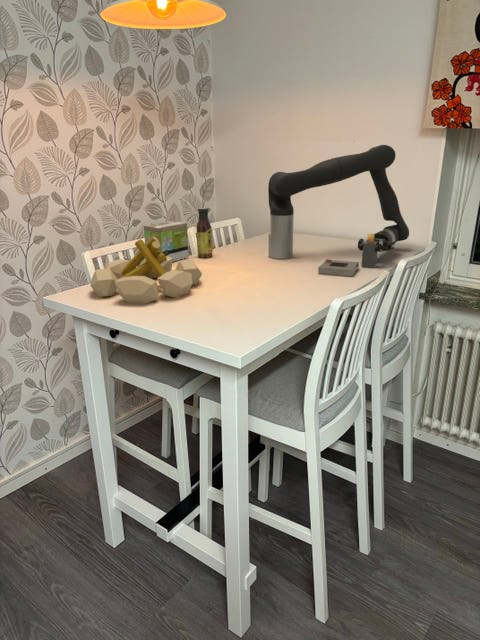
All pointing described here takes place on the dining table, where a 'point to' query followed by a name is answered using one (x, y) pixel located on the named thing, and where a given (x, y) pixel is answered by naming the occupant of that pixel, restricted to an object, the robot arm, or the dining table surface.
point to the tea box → (169, 238)
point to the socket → (338, 268)
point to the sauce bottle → (204, 234)
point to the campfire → (145, 275)
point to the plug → (369, 252)
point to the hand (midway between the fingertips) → (368, 248)
